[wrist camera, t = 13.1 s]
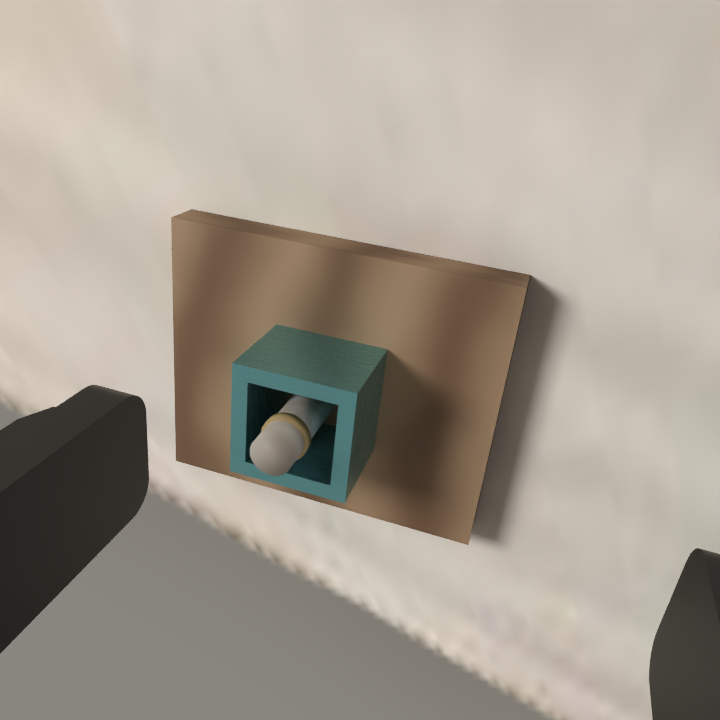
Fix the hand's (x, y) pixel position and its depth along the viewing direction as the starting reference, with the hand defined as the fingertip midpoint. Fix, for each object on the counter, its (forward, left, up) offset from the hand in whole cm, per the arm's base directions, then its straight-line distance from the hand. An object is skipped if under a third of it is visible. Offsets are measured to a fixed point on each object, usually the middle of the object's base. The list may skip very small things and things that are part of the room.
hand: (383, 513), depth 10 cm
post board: (+8, +11, -24) cm, 28 cm away
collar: (+8, +11, -22) cm, 26 cm away
